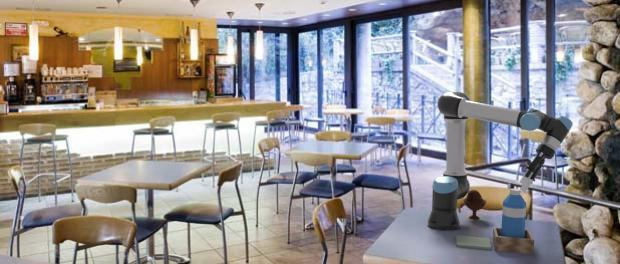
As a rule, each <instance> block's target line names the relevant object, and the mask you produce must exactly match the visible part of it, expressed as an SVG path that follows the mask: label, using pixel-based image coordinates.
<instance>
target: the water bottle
mask: <svg viewBox="0 0 620 264" xmlns="http://www.w3.org/2000/svg"><path fill="white" fill-rule="evenodd" d="M521 192H522V190H520V188H510V189H509V194H508V195H507V196H506V198H504V200H503V201H502V213H501V216H502V217H501V228H502V229H501V237H513V238H524V236H525V230H526V218H527V202H526V201H525V200H524V198H523V196H522V194H521Z"/></svg>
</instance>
